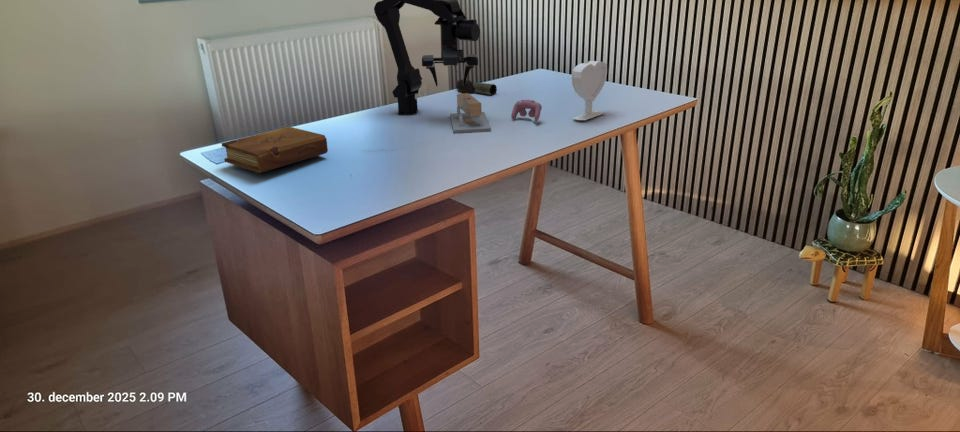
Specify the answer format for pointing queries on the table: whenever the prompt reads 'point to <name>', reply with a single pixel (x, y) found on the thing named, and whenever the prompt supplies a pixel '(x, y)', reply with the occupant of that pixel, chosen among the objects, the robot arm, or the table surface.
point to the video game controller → (527, 104)
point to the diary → (274, 149)
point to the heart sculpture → (589, 85)
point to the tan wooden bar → (469, 104)
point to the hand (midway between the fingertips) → (450, 85)
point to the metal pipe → (476, 87)
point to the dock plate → (469, 123)
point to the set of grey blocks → (461, 117)
